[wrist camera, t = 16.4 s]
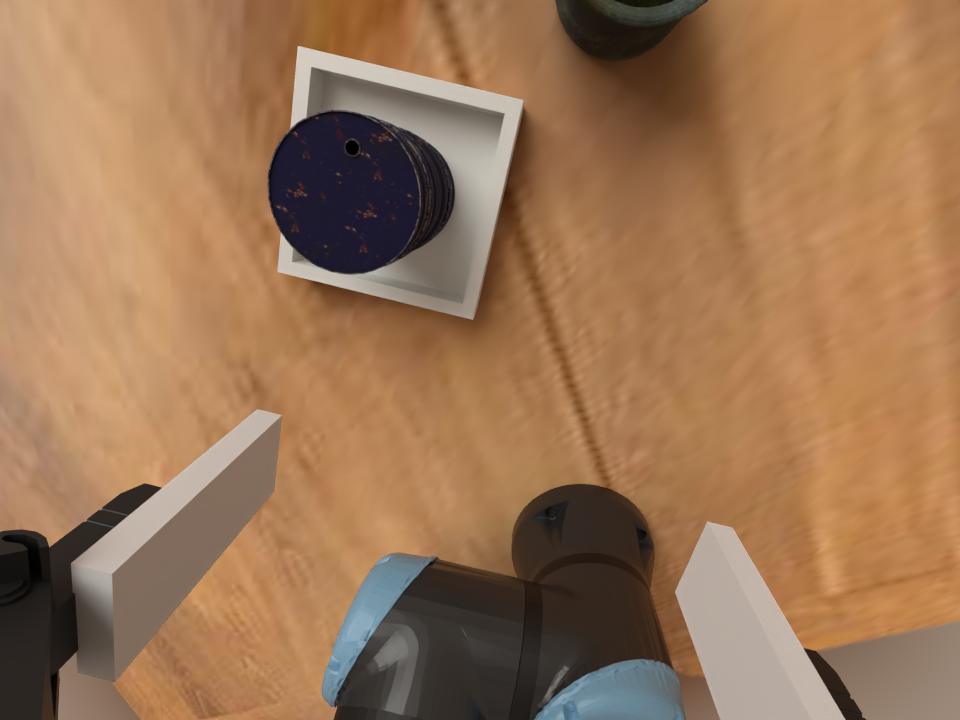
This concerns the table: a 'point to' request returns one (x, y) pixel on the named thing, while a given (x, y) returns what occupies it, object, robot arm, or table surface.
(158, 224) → the table surface
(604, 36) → the mug
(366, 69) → the tray
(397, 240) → the dark blue canister
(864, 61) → the table surface
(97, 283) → the table surface
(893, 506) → the table surface
